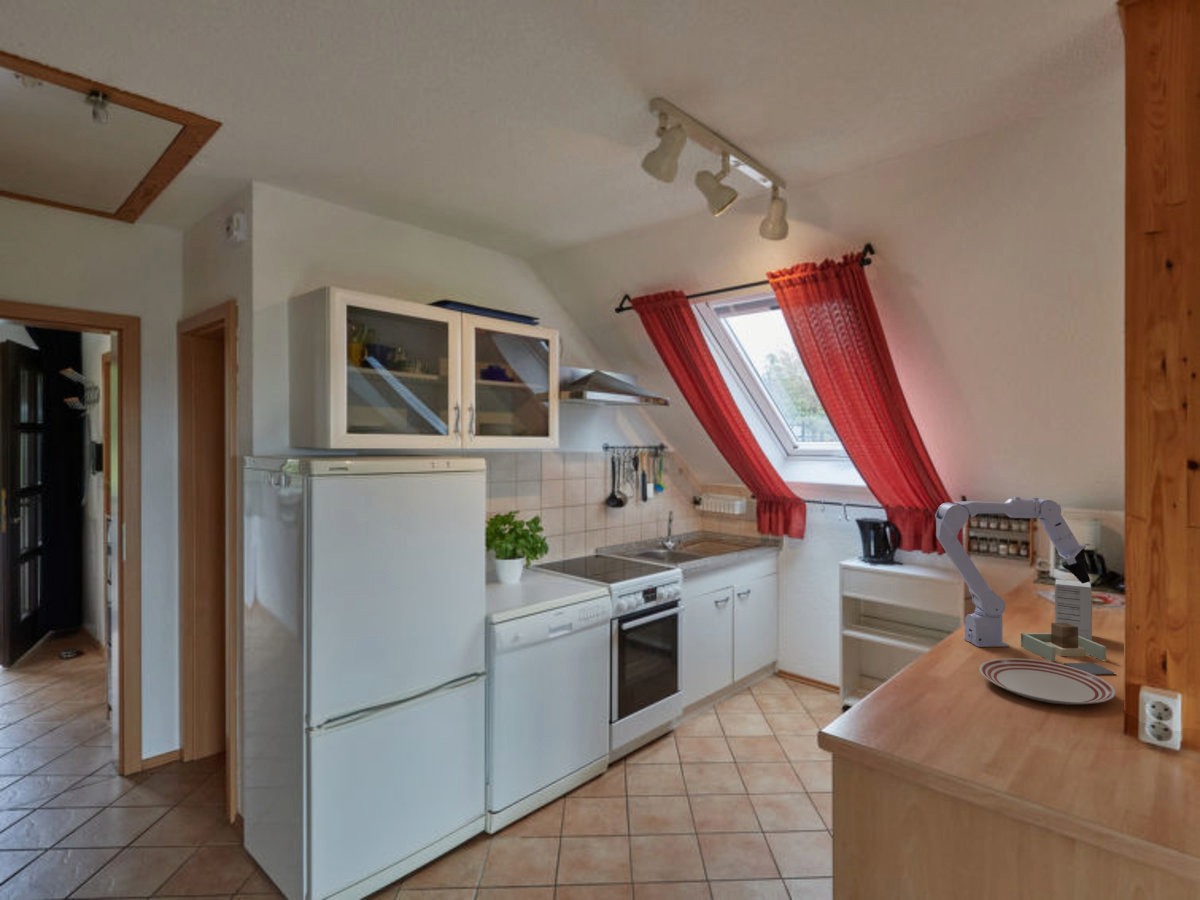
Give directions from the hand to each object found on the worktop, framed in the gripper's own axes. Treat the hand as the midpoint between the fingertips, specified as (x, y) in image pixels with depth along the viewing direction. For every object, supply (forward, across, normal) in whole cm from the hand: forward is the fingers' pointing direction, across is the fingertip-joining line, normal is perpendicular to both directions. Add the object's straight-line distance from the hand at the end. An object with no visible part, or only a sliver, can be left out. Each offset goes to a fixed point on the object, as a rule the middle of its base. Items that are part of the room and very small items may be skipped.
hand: (1086, 577), depth 185 cm
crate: (+14, -14, +13) cm, 24 cm away
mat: (+15, -25, +6) cm, 30 cm away
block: (+13, -12, +12) cm, 21 cm away
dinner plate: (+7, -48, +13) cm, 50 cm away
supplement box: (+20, +7, +13) cm, 25 cm away
